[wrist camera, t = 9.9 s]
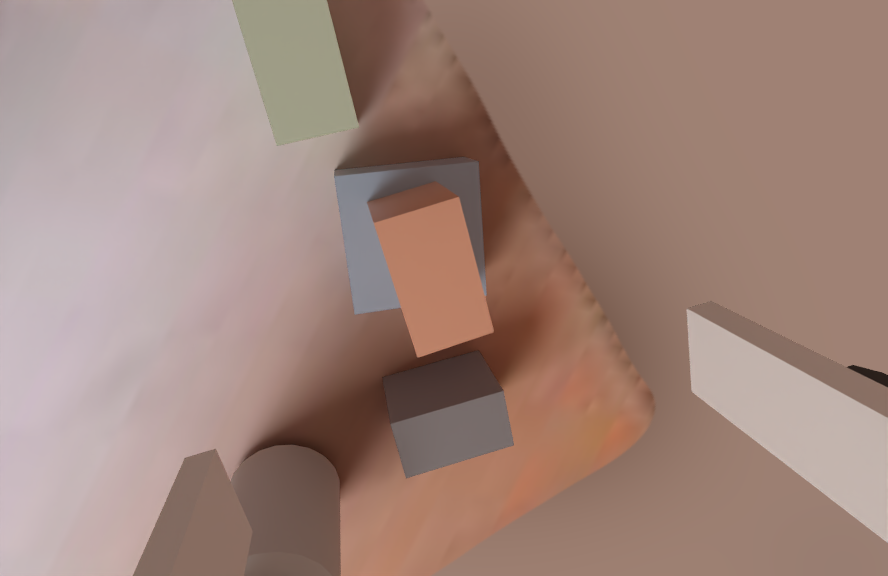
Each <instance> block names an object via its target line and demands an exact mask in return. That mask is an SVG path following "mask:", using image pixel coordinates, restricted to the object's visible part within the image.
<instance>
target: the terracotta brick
mask: <svg viewBox="0 0 888 576" xmlns="http://www.w3.org/2000/svg"><path fill="white" fill-rule="evenodd" d="M367 204H368V207H369V211H370V214H371V217H372V220H373V223H374V226H375V229H376V232H377V235H378V238H379V241H380V244H381V248H382V251H383V254H384V257H385V260H386V263H387V266H388V269H389V272H390V275H391V278H392V281H393V284H394V288H395V291H396V294H397V297H398V300H399V303H400V306H401V309H402V312H403V315H404V318H405V321H406V324H407V327H408V330H409V333H410V336H411V340H412V343H413V346H414V349H415V352H416V355H417V358H419V357H422V356H425V355H428V354H431V353H434V352H437V351H440V350H442V349H445V348H448V347H451V346H454V345H457V344H460V343H463V342H466V341H469V340H472V339H475V338H478V337H481V336H484V335H487V334H490V333H493V332H494V330H493V326H492V322H491V318H490V314H489V310H488V306H487V303H486V299H485V295H484V291H483V287H482V283H481V279H480V276H479V272H478V268H477V264H476V260H475V256H474V252H473V249H472V245H471V241H470V237H469V233H468V229H467V225H466V222H465V218H464V214H463V210H462V206H461V202H460V198H459V196H457V195H456V194H454V193H453V192H451V191H450V190H448V189H447V188H445V187H444V186H442V185H441V184H439V183H438V182H436V181H435V182H431V183H428V184H425V185H421V186H418V187H415V188H412V189H408V190H405V191H402V192H398V193H395V194H392V195H389V196H385V197H382V198H379V199H376V200H372V201H369V202H367Z"/></svg>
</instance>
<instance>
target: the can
mask: <svg viewBox="0 0 888 576" xmlns="http://www.w3.org/2000/svg"><path fill="white" fill-rule="evenodd" d="M231 484H232V486H233V488H234V491H235V493H236V495H237V497H238V500H239V502H240V504H241V506H242V508H243V511H244V513H245V515H246V517H247V520H248V522H249V524H250V526H251V528H252V531H253V533H252V538H251V543H250V548H249V553H248V558H247V563H246V568H245V573H244V576H341V567H340V480H339V477H338V474H337V472H336V469H335V467H334V466H333V465H332V464H331V463H330V462H329V460H328V459H327V458H326V457H325V456H323V455H322V454H320V453H318V452H316V451H314V450H312V449H311V448H307V447H302V446H297V445H277V446H272V447H269V448H266V449H263V450H260V451H258V452H256V453H255V454H253V455H252V456H250V457H249V458H247V459H246V460H244V461H243V462H242V463H241V465H240V466H239V467H238V468H237V470H236V471H235V472H234V473H233V476H232V479H231Z"/></svg>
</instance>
